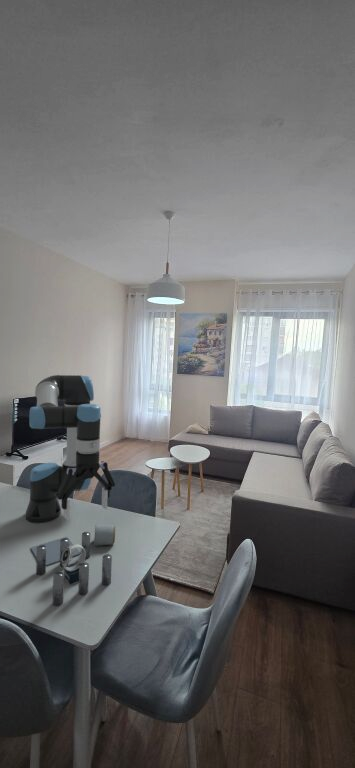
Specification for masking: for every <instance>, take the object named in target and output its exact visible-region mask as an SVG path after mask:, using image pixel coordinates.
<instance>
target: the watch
mask: <svg viewBox="0 0 355 768" xmlns="http://www.w3.org/2000/svg"><path fill="white" fill-rule="evenodd" d="M75 549H77V550H78V549H81V552H82V554H81V553H80V555H79V559H78V561H77V562H73V563H71V561H72V559H73V557H72V556H73V553H74V551H75ZM82 549H83V551H82ZM85 558H86V551H85V549H84V548H83V547H82V544H78V543H77V544H76V543H74V544H73V545H72V546H69V547H68V548H66V549H65V550H64V551H63V553H62V556H61V563H62V565H63V567H62V568H64V570H63V573H64V578H65V579H66V581H67V582H68V584H69V585H72V584H76V583H77V582H78V583H79V565H80V564H81V563H84V562H85ZM68 563H69V564H68ZM70 563H71V564H70ZM67 564H68V566H67Z"/></svg>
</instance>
